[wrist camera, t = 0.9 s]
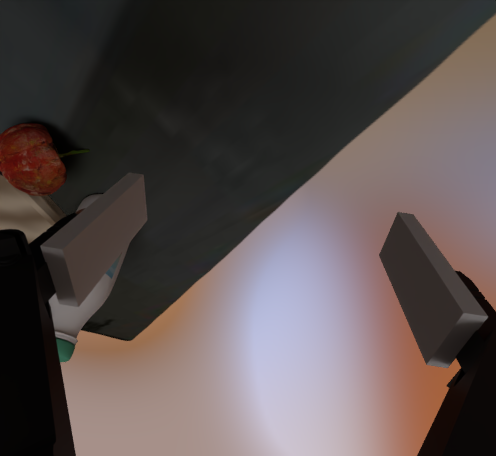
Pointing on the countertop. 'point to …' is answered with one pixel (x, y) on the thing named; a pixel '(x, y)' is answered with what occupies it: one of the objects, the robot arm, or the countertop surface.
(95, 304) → the milk bottle
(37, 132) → the pomegranate
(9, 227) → the wood tray
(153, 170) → the countertop surface
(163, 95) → the countertop surface
